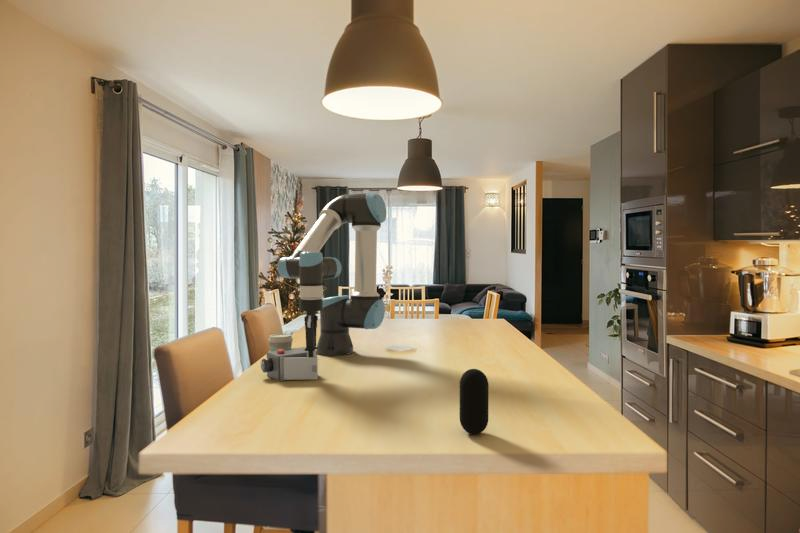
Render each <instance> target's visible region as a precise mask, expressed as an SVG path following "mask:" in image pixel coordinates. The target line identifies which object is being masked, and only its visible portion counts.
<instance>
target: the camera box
mask: <svg viewBox="0 0 800 533" xmlns="http://www.w3.org/2000/svg"><path fill="white" fill-rule="evenodd" d="M305 349H306V346H302V347H301V346H300V347H296V348H295V347H294V348H291V349H286V350H284V349H279V350H277V351H270V350H269V351H267V352H266V358H262V359H261V362H260V369H261V371H262V372H263V373H265V374H266V376H267V377H268V378H271V379H273V380H276V381H278V382H280V357H284V358H293V357H307V351H305ZM316 357H318V354H317V351H316Z"/></svg>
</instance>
